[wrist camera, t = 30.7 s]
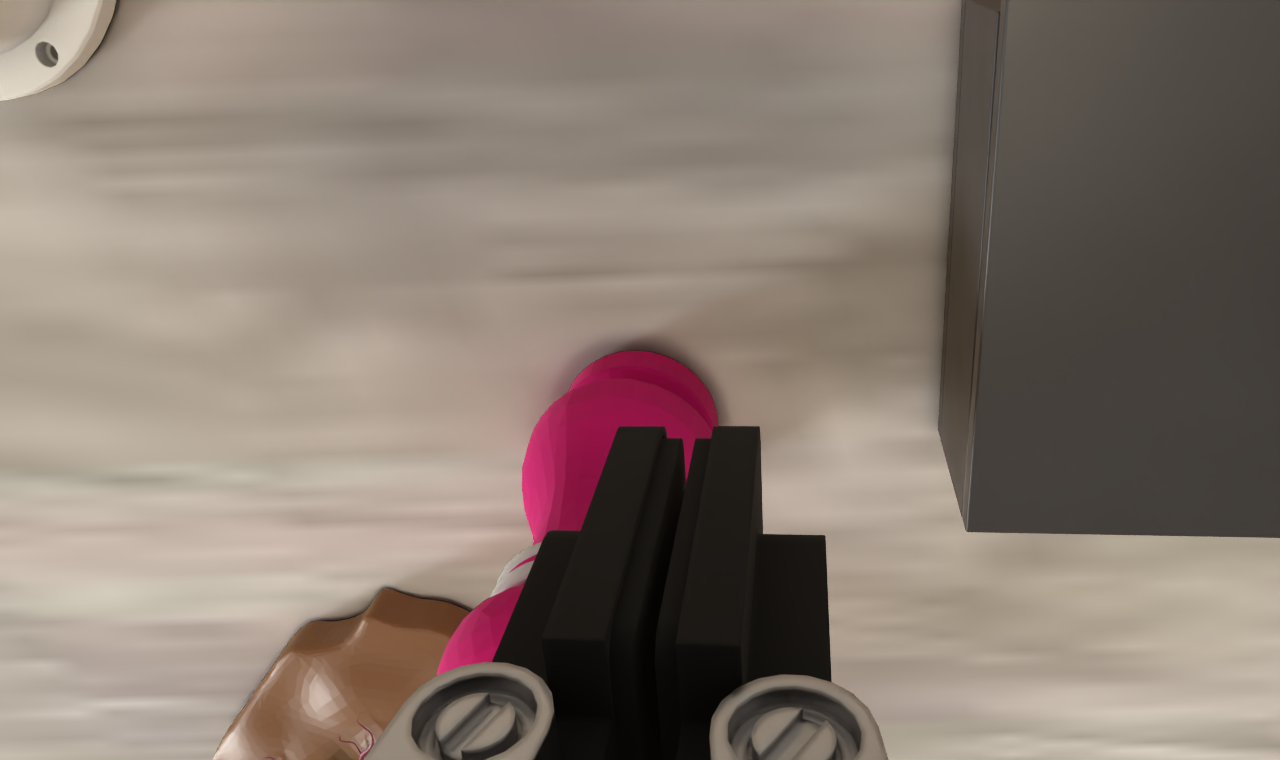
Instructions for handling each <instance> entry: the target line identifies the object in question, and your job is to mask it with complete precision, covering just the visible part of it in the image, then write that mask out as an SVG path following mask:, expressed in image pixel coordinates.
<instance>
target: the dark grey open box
mask: <svg viewBox="0 0 1280 760" xmlns="http://www.w3.org/2000/svg"><path fill="white" fill-rule="evenodd" d="M1000 9H1001V0H962V13H961V30H960V48H959V66H958V84H957V102H956V119H955V137H954V155H953V173H952V190H951V208H950V226H949V244H948V262H947V279H946V297H945V315H944V333H943V350H942V368H941V386H940V404H939V422H938V431H939V435H940V438H941V442H942V446H943V450H944V453H945V457H946V461H947V464H948V468H949V472H950V475H951V479H952V483H953V486H954V490H955V494H956V497H957V501H958V505H959V508H960V512H961V516H962V517H963V505H964V492H965V478H966V465H967V451H968V438H969V424H970V411H971V398H972V384H973V371H974V357H975V344H976V331H977V317H978V304H979V290H980V277H981V264H982V250H983V237H984V223H985V210H986V197H987V183H988V170H989V156H990V143H991V129H992V116H993V103H994V89H995V76H996V62H997V49H998V36H999V22H1000Z"/></svg>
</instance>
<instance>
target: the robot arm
mask: <svg viewBox="0 0 1280 760" xmlns="http://www.w3.org/2000/svg"><path fill="white" fill-rule="evenodd" d="M115 4H116V0H0V100H11V99H15V98H20V97H24V96H29V95H33V94H37V93H40V92H42V91H44V90H47V89H49V88H51V87H53V86H56V85H58V84H60V83H62V82H64V81H65V80H66V79H68V78H69V77H70V76H71V75H73V74H74V73H75V72H76V71H78V70H79V69H80V68H81V67H83V66H84V65H85V63H86V62H87V61H88V59H89V58H90V57H91V55H92V54H93V53H94V51H95V50H96V49H97V47H98V46H99V45H100V43H101V41H102V39H103V37H104V35H105V32H106V30H107V28H108V26H109V23H110V21H111V19H112V17H113V13H114V8H115ZM363 760H888V757H887V753H886V750H885V747H884V744H883V740H882V737H881V734H880V731H879V727H878V725H877V723H876V721H875V720H874V718H873V716H872V714H871V712H870V710H869V708H868V707H867V706H865V705H864V704H863V703H862V702H861V701H860V700H859V699H858V698H857V697H856V696H855V695H854V694H853V693H851V692H849V691H847V690H845V689H844V688H842V687H840V686H838V685H836V684H834V683H832V682H831V661H830V636H829V612H828V588H827V564H826V541H825V535H777V534H763V520H762V480H761V442H760V427H759V426H714V427H713V430H712V436H711V438H696V439H695V442H694V447H693V452H692V457H691V462H690V467H689V472H688V477H687V482H686V472H685V455H684V444H683V439H682V438H667V432H666V428H665V426H619V427H618V429H617V432H616V434H615V437H614V440H613V443H612V445H611V448H610V451H609V454H608V456H607V459H606V462H605V465H604V467H603V470H602V473H601V476H600V478H599V481H598V484H597V487H596V489H595V492H594V495H593V498H592V500H591V503H590V506H589V509H588V511H587V514H586V517H585V520H584V523H583V525H582V528H581V531H570V530H551V531H549V532H547V534H546V535H545V537H544V539H543V541H542V543H541V546H540V548H539V550H538V553H537V555H536V558H535V560H534V562H533V565H532V567H531V570H530V572H529V574H528V577H527V579H526V582H525V584H524V586H523V589H522V591H521V593H520V596H519V598H518V601H517V603H516V605H515V608H514V610H513V613H512V615H511V617H510V620H509V622H508V625H507V627H506V629H505V632H504V634H503V636H502V639H501V641H500V644H499V646H498V648H497V651H496V653H495V656H494V658H493V660H492V662H482V663H476V664H470V665H464V666H460V667H457V668H455V669H452V670H450V671H447V672H444V673H442V674H439V675H437V676H436V677H434V678H433V679H431V680H430V681H428V682H426V683H425V684H423V685H422V686H420V687H419V688H418V689H417V690H416V691H415V692H414V693H413V694H412V695H411V696H410V697H409V698H408V699H407V700H406V701H405V702H404V703H403V705H402V706H401V708H400V709H399V710H398V712H397V713H396V715H395V716H394V717H393V719H392V720H391V722H390V723H389V724H388V726H387V727H386V729H385V730H384V731H383V733H382V734H381V735H380V737H379V738H378V740H377V741H376V742H375V744H374V745H373V747H372V748H371V749H370V751H369V752H368V754H367V755H366V756H365V758H364V759H363Z"/></svg>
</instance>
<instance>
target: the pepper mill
mask: <svg viewBox="0 0 1280 760" xmlns="http://www.w3.org/2000/svg"><path fill="white" fill-rule="evenodd" d="M619 426H665V428H666V432H667V438H682V439H683V444H684V455H685V472H686V482H687V477H688V472H689V467H690V462H691V457H692V452H693V447H694V442H695V439H696V438H711V436H712V430H713V427H714V426H718V419H717V413H716V409H715V406H714V403H713V400H712V397H711V395H710V393H709V392H708V390H707V388H706V387H705V386H704V384H703V383H702V382H701V381H700V380H699V378H698V377H697V376H696V375H695V374H694V373H693V372H691V371H690V370H689V369H688V368H686V367H685V366H684V365H682V364H680V363H679V362H677V361H675V360H673V359H671V358H669V357H666V356H663V355H660V354H657V353H652V352H647V351H623V352H618V353H614V354H610V355H607V356H605V357H603V358H600V359H598V360H596V361H595V362H593V363H592V364H590V365H589V366H587V367H586V368H585V369H584V370H583V371H582V372H581V373H580V374H579V375H578V376H577V377H576V379H575V380H574V382H573V383H572V385H571V387H570V389H569V391H568V392H567V393H566V394H565V395H563V396H562V397H561V398H559V399H558V400H557V401H556V402H554V403H553V404H552V405H551V406H550V407H549V409H548V410H547V411H546V412H545V413H544V414H543V415H542V417H541V418H540V420H539V421H538V423H537V425H536V426H535V428H534V430H533V433H532V436H531V438H530V441H529V444H528V448H527V451H526V455H525V459H524V463H523V467H522V492H523V500H524V508H525V512H526V515H527V519H528V522H529V525H530V528H531V531H532V534H533V539H534V543H533V545H532V546H530V547H528V548H526V549H525V550H523V551H521V552H520V553H519V554H518V555H516V556H515V557H514V558H513V559H512V560H511V561H510V562H509V563H508V564H507V565H506V566H505V568H504V569H503V571H502V573H501V575H500V577H499V579H498V581H497V585H496V587H495V589H494V590H493V592H492V594H491V596H490V598H488V599H486V600H485V601H483V602H482V603H481V604H480V605H478V606H477V607H476V608H475V609H474V610H473V611H472V612H471V613H469V614H468V615H467V616H466V617H465V618H464V619H463V620H462V622H461V623H460V625H459V626H458V628H457V629H456V631H455V632H454V634H453V636H452V637H451V639H450V640H449V642H448V643H447V646H446V648H445V651H444V653H443V656H442V658H441V661H440V664H439V667H438V671H437V675H439V674H442V673H444V672H447V671H450V670H452V669H455V668H457V667H460V666H464V665H470V664H476V663H482V662H492V660H493V658H494V656H495V653H496V651H497V648H498V646H499V644H500V641H501V639H502V636H503V634H504V632H505V629H506V627H507V625H508V622H509V620H510V617H511V615H512V613H513V610H514V608H515V605H516V603H517V601H518V598H519V596H520V593H521V591H522V589H523V586H524V584H525V582H526V579H527V577H528V574H529V572H530V570H531V567H532V565H533V562H534V560H535V558H536V555H537V553H538V550H539V548H540V546H541V543H542V541H543V539H544V537H545V535H546V534H547V532H549V531H551V530H570V531H581V528H582V525H583V523H584V520H585V517H586V514H587V511H588V509H589V506H590V503H591V500H592V498H593V495H594V492H595V489H596V487H597V484H598V481H599V478H600V476H601V473H602V470H603V467H604V465H605V462H606V459H607V456H608V454H609V451H610V448H611V445H612V443H613V440H614V437H615V434H616V432H617V429H618V427H619ZM437 675H436V676H437Z"/></svg>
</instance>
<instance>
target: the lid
mask: <svg viewBox="0 0 1280 760" xmlns="http://www.w3.org/2000/svg"><path fill="white" fill-rule="evenodd" d="M963 522H964V526H965V530H966V531H967V532H995V533H1049V534H1104V535H1158V536H1213V537H1267V538H1280V0H1001V9H1000V22H999V36H998V49H997V62H996V76H995V89H994V103H993V116H992V129H991V143H990V156H989V170H988V183H987V197H986V210H985V223H984V237H983V250H982V264H981V277H980V290H979V304H978V317H977V331H976V344H975V357H974V371H973V384H972V398H971V411H970V424H969V438H968V451H967V465H966V478H965V492H964V505H963Z"/></svg>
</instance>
